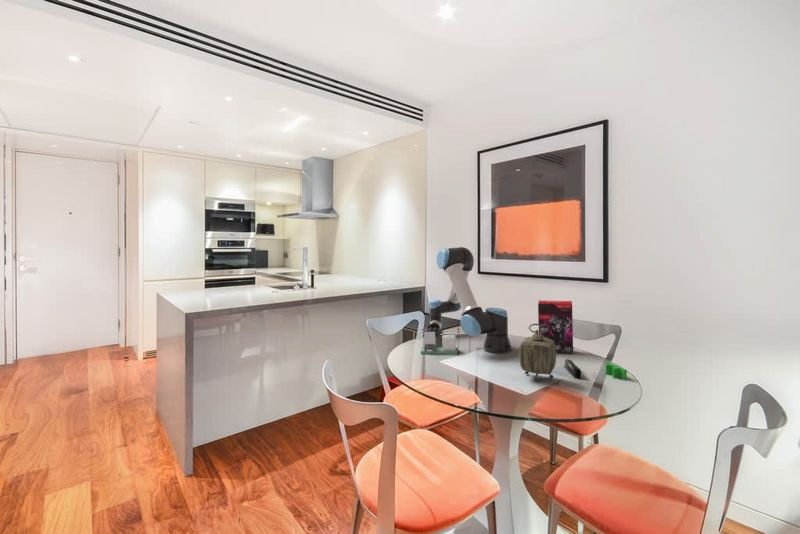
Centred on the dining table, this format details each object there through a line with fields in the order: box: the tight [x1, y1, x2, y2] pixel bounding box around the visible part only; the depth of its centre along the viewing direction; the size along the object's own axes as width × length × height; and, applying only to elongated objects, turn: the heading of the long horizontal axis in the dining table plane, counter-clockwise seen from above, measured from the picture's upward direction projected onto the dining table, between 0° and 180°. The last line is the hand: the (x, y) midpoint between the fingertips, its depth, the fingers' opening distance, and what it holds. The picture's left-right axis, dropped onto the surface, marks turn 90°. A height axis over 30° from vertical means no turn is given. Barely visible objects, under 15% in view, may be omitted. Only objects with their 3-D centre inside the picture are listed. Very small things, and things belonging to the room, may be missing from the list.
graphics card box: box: [537, 300, 574, 354], centre depth 203 cm, size 17×7×27 cm, turn 68°
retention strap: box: [423, 332, 437, 351], centre depth 211 cm, size 6×4×10 cm, turn 79°
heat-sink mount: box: [420, 334, 459, 355], centre depth 213 cm, size 20×8×9 cm, turn 79°
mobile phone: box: [563, 358, 582, 380], centre depth 174 cm, size 5×3×15 cm
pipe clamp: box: [605, 361, 628, 381], centre depth 168 cm, size 11×4×5 cm, turn 10°
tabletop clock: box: [518, 323, 557, 382], centre depth 167 cm, size 14×9×25 cm, turn 59°
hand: (429, 338), depth 213 cm, fingers closed
